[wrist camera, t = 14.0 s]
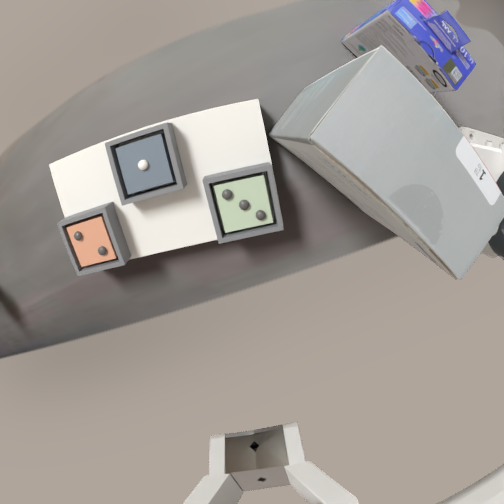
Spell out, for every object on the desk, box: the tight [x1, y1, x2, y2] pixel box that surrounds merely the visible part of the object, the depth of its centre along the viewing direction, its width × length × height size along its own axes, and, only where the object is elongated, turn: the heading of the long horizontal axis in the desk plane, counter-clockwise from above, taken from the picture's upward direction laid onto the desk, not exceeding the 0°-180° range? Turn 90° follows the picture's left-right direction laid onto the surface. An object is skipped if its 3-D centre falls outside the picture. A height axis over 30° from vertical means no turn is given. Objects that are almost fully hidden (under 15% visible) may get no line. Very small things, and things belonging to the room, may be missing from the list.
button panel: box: [49, 99, 284, 276], centre depth 32 cm, size 25×14×6 cm, turn 102°
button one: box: [115, 133, 176, 195], centre depth 29 cm, size 5×5×2 cm
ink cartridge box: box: [341, 0, 476, 93], centre depth 22 cm, size 10×6×14 cm, turn 49°
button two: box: [67, 213, 118, 267], centre depth 32 cm, size 5×5×2 cm
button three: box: [214, 172, 273, 233], centre depth 31 cm, size 5×5×2 cm
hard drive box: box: [269, 45, 504, 280], centre depth 25 cm, size 16×8×20 cm, turn 54°
